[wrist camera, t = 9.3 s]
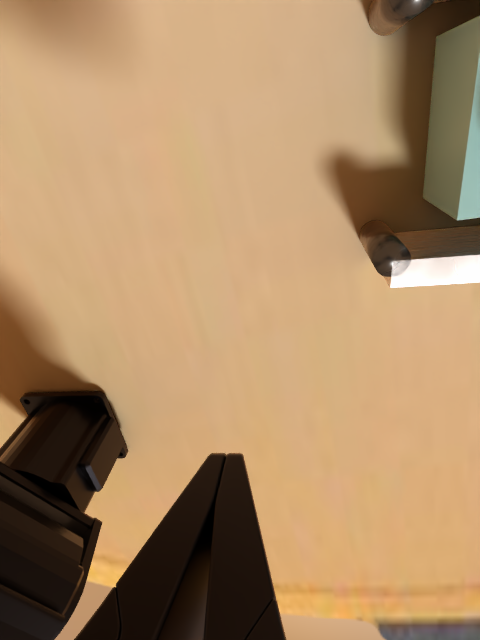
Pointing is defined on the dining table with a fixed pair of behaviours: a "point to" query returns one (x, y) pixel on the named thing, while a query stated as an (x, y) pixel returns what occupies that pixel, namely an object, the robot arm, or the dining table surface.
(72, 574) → the robot arm
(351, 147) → the dining table surface
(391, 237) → the motor mount
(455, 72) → the teal cube with ball
